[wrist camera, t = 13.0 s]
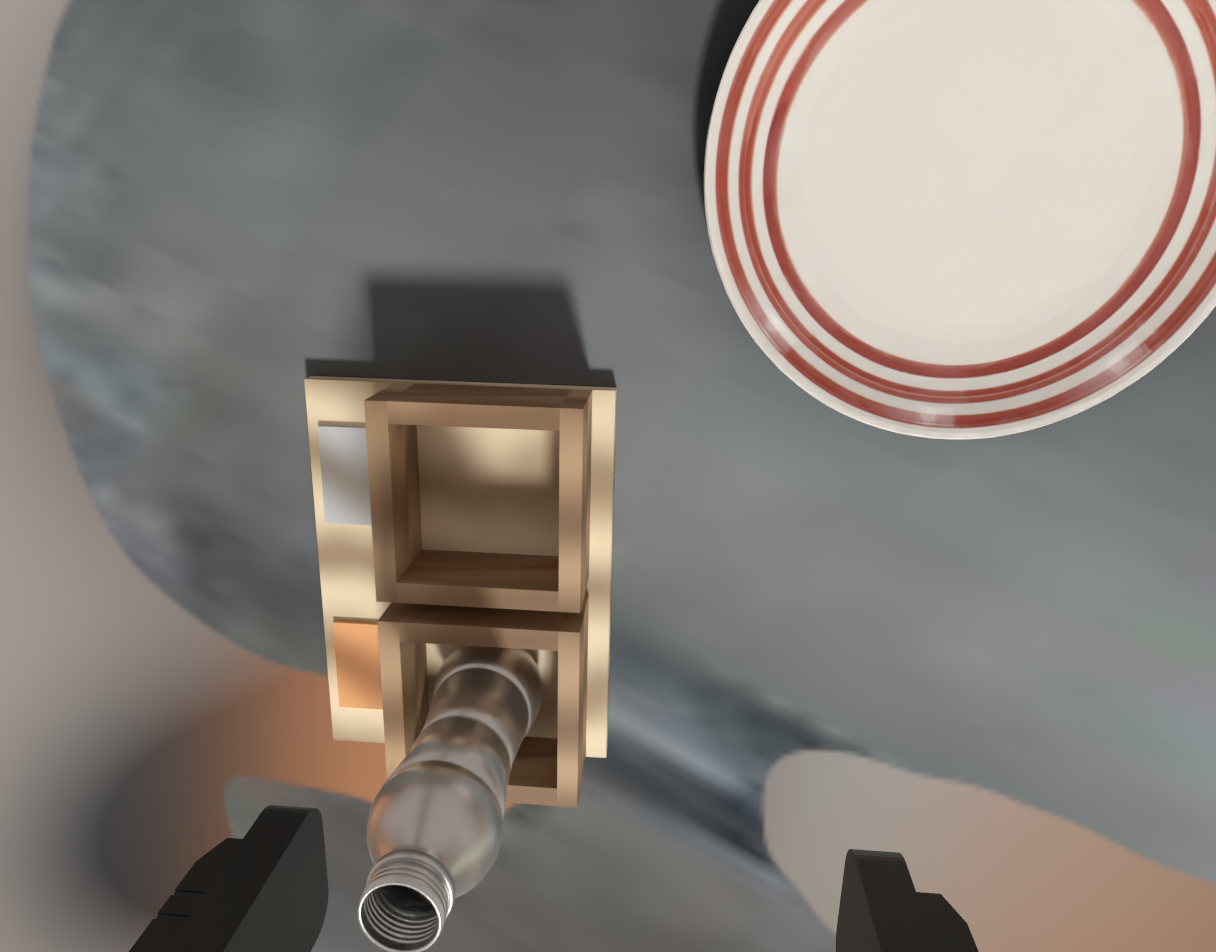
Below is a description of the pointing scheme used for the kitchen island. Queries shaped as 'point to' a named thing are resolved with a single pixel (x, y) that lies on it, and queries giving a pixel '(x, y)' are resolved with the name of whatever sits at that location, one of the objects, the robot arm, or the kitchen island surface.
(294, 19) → the kitchen island surface
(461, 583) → the socket board
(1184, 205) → the dinner plate
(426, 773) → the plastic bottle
